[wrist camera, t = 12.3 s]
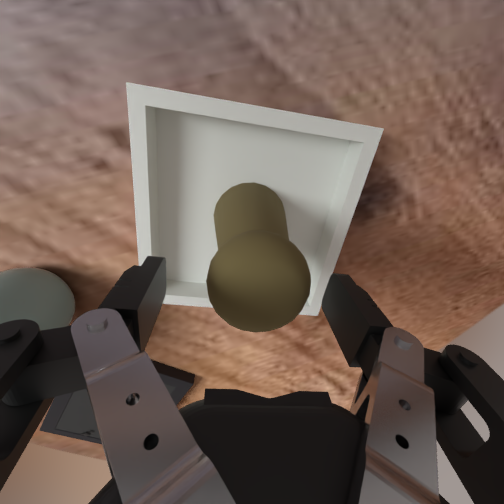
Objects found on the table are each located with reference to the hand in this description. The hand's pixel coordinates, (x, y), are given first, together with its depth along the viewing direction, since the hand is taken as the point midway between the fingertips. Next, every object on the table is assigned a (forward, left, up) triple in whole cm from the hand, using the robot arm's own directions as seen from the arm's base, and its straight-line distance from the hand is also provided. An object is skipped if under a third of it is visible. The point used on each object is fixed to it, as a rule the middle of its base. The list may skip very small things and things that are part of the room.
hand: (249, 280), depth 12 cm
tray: (0, 0, -10) cm, 10 cm away
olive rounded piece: (0, +1, -10) cm, 10 cm away
